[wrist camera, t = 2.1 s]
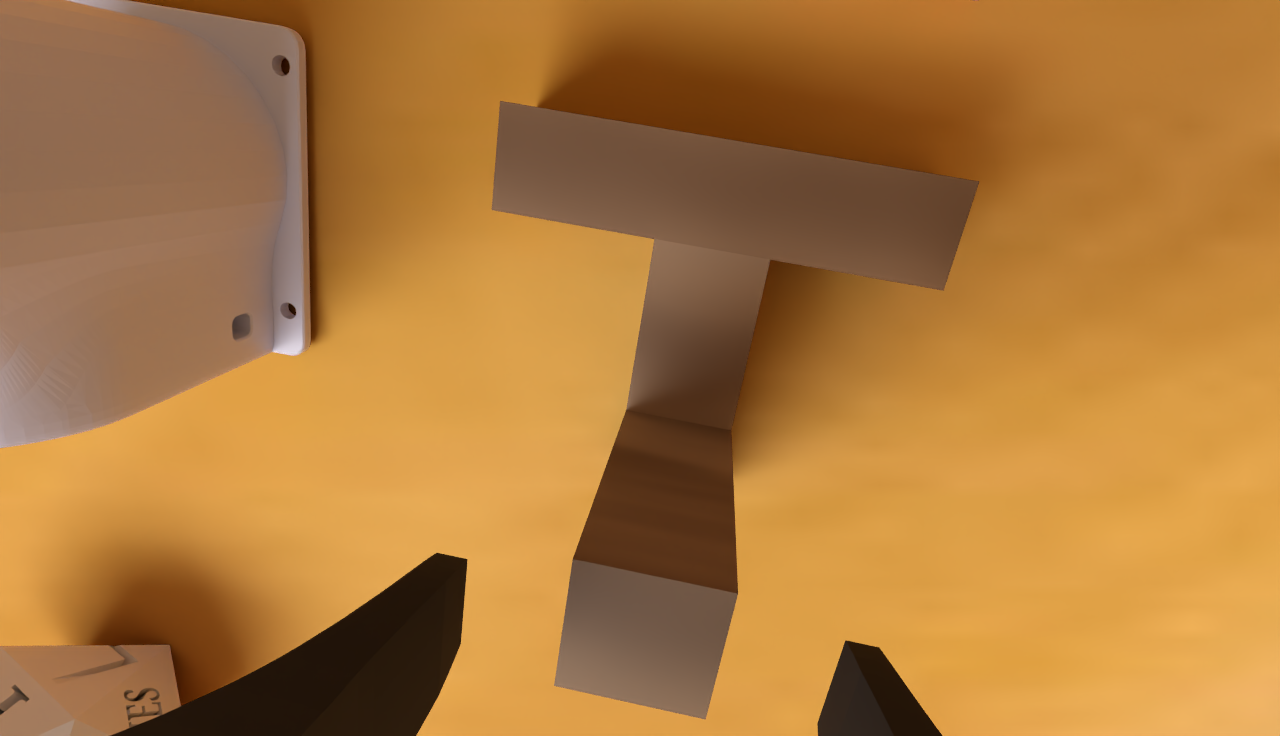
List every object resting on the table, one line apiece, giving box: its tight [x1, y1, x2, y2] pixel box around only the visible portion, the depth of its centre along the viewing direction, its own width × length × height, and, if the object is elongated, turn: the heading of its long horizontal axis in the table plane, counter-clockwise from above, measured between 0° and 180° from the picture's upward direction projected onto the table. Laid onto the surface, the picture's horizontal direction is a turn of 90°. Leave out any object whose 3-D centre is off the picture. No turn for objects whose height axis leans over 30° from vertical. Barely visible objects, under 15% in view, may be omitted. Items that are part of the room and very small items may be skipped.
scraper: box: [492, 101, 979, 719], centre depth 15 cm, size 10×11×9 cm
